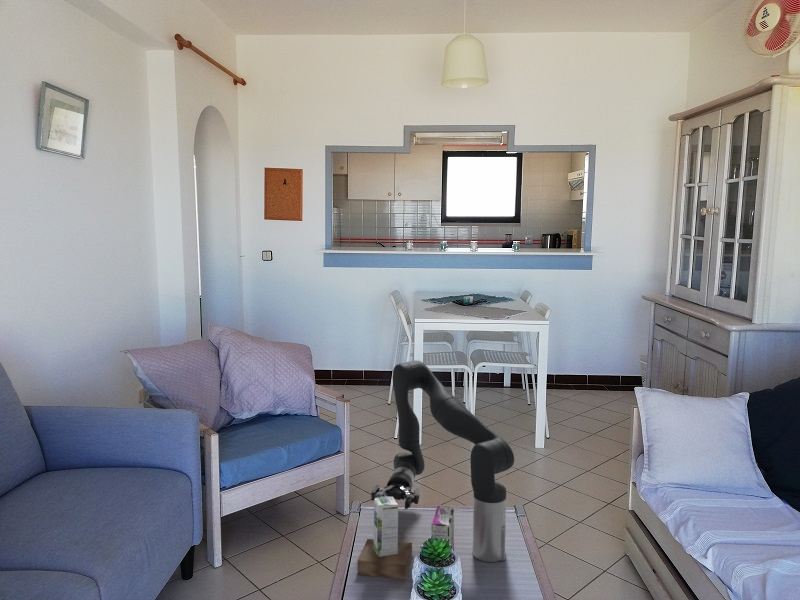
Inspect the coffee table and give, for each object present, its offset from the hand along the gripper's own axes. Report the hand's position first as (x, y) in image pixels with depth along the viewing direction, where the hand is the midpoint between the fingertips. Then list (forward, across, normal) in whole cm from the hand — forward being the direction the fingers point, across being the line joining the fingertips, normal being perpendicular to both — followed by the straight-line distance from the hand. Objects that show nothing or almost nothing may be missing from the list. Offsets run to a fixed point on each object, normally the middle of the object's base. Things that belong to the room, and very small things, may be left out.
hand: (391, 504), depth 179 cm
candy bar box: (+10, +16, +14) cm, 23 cm away
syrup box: (+9, 0, +10) cm, 13 cm away
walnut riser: (+9, 0, +14) cm, 16 cm away
